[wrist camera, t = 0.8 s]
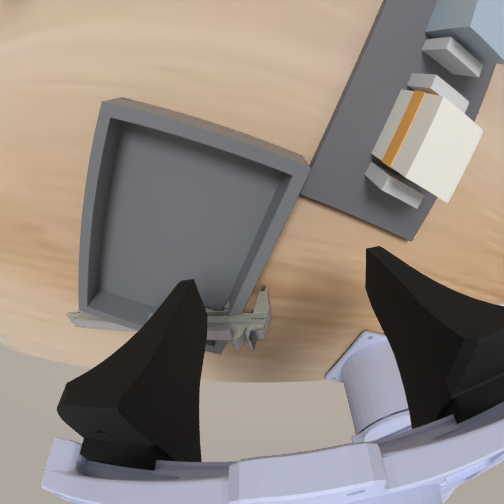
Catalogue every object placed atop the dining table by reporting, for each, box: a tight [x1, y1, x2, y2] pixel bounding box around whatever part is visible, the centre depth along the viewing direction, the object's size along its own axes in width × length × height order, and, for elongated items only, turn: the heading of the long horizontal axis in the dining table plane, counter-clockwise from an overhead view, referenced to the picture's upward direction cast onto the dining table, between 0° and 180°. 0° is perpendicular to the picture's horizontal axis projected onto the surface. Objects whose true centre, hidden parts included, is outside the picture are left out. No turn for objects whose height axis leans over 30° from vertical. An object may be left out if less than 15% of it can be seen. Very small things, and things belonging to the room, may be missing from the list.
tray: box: [79, 98, 311, 355], centre depth 21 cm, size 13×17×3 cm
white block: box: [371, 89, 483, 203], centre depth 15 cm, size 4×5×5 cm
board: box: [300, 0, 496, 241], centre depth 13 cm, size 10×26×4 cm, turn 159°
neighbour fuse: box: [425, 0, 504, 64], centre depth 10 cm, size 4×5×5 cm
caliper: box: [67, 286, 271, 351], centre depth 23 cm, size 20×1×6 cm, turn 102°
